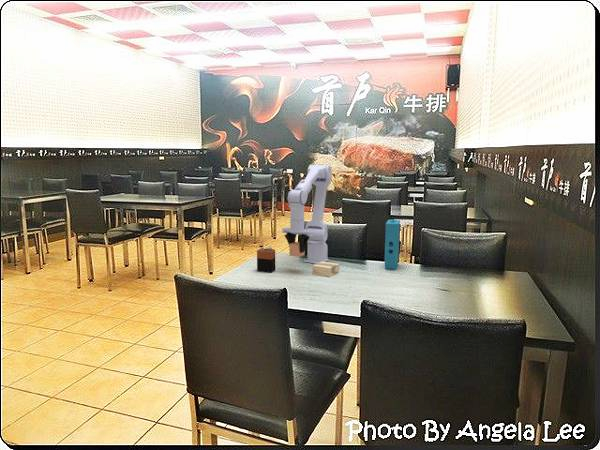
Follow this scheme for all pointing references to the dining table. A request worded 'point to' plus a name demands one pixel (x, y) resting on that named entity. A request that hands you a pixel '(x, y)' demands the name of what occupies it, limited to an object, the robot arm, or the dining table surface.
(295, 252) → the terracotta block
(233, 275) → the dining table surface
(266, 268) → the battery
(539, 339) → the dining table surface
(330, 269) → the maple block
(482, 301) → the dining table surface
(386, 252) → the block
